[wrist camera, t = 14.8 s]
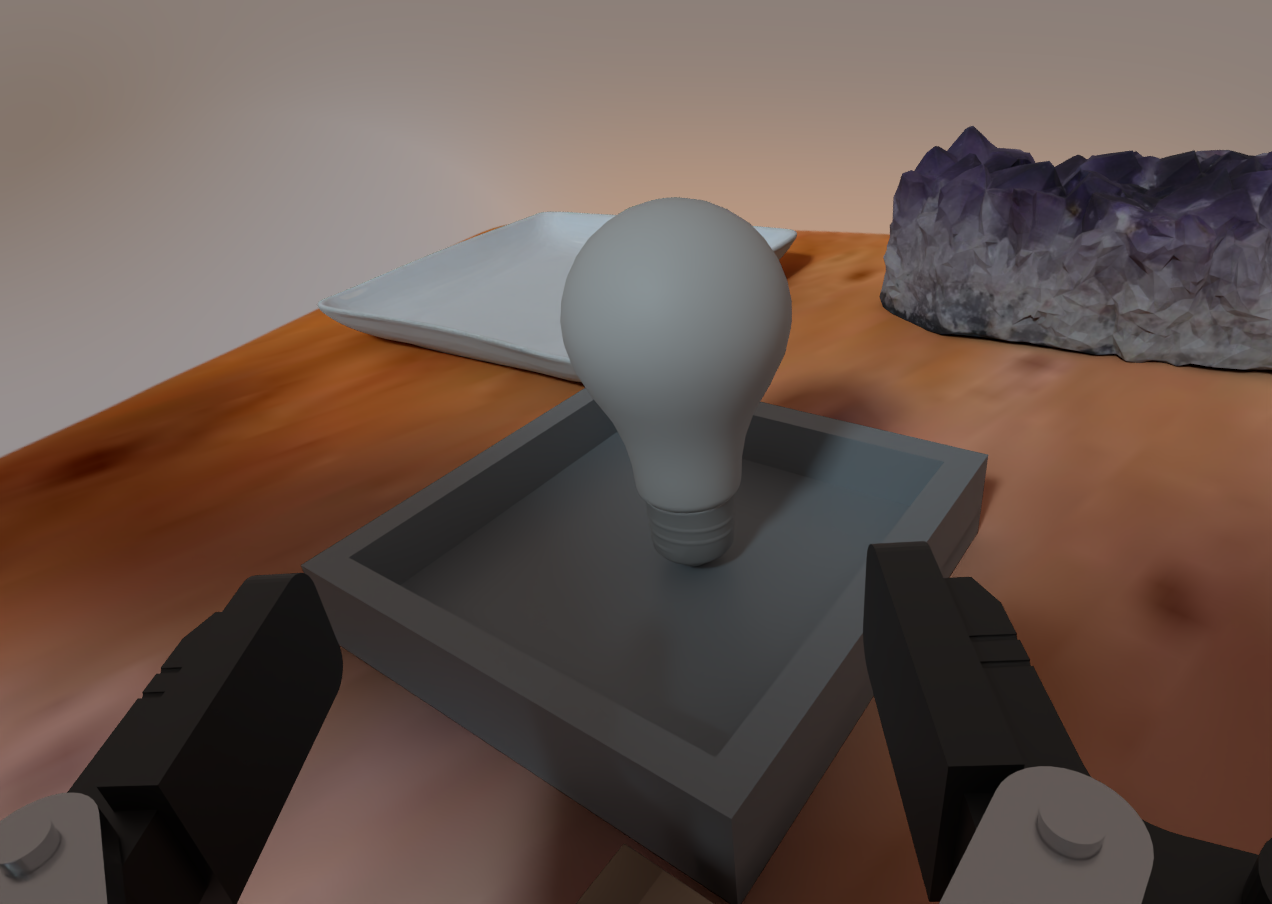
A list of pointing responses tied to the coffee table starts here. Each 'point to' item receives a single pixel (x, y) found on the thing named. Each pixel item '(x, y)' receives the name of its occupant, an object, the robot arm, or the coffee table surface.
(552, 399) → the coffee table surface
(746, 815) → the tray
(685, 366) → the lightbulb
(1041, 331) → the geode
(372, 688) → the coffee table surface
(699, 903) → the square wooden frame
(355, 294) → the salad plate
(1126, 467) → the coffee table surface
